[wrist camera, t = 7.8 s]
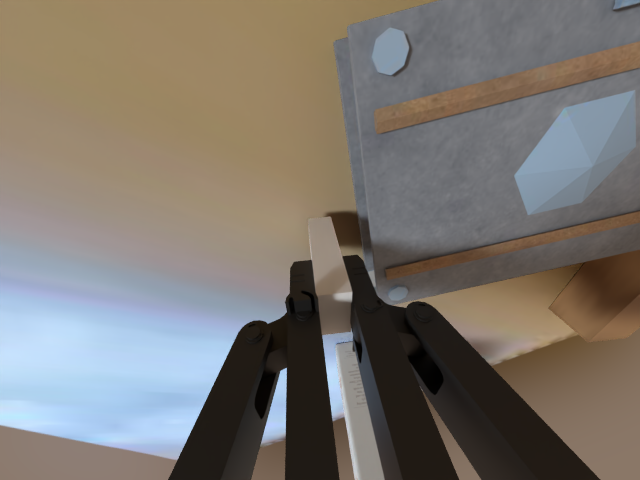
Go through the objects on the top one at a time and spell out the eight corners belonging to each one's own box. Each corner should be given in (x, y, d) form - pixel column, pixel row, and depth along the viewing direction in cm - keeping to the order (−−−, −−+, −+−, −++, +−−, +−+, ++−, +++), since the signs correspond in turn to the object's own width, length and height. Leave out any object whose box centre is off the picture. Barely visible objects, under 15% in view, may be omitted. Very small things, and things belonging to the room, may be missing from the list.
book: (365, 276, 20) (384, 325, 16) (330, 33, 11) (353, 0, 7) (607, 221, 19) (693, 257, 15) (788, -93, 10) (1129, -217, 6)
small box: (387, 371, 29) (442, 537, 18) (338, 379, 29) (364, 551, 18) (392, 333, 25) (469, 524, 14) (334, 342, 25) (366, 542, 14)
